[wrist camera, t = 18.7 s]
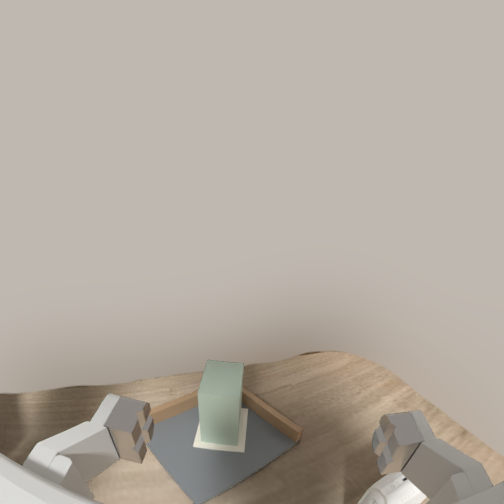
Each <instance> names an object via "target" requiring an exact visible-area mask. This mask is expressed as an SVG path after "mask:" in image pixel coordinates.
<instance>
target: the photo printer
mask: <svg viewBox="0 0 504 504" xmlns="http://www.w3.org/2000/svg"><path fill="white" fill-rule="evenodd" d="M426 497H427V496H426V495H425V494H423V493H422V492H421V491H420V490H419V489H418V488H417V487H416V486H415V485H414V484H412V483H411V482H410V481H409V480H408V479H407V478H406V477H405V476H404V475H403V474H402V473H401V472H396V473H390V474H387V475H385V476H384V477H383V478H381V479H380V480H379V481H377V482H376V483H374V484H373V485H372V486H371V487H370V488H369V489H368V490H367V491H366V492H365V494H364V495H363V497H362V498H361V499H360V501H359V502H358V503H357V504H420V503H421V502H422V501H423V500H424V499H425V498H426Z"/></svg>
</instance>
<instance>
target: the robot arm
mask: <svg viewBox="0 0 504 504" xmlns="http://www.w3.org/2000/svg"><path fill="white" fill-rule="evenodd" d="M150 411H151V408H150V404H149V403H147V402H143V401H139V400H135V399H131V398H127V397H123V396H119V395H115V394H112V393H110V394H108V395H107V396H106V397H105V399H104V400H103V402H102V403H101V405H100V407H99V408H98V410H97V411H96V413H95V415H94V416H93V418H92V419H91V421H90V422H88V421H85V422H83V423H81V424H79V425H77V426H75V427H72V428H70V429H68V430H66V431H64V432H61V433H59V434H57V435H55V436H52V437H50V438H48V439H45V440H43V441H41V442H38V443H37V444H36V446H35V447H34V448H33V450H32V451H31V453H30V454H29V456H28V457H27V459H26V460H25V462H24V463H23V465H22V466H21V465H20V464H18V463H16V462H15V461H13V460H11V459H10V458H8V457H6V456H5V455H3V454H2V453H0V504H103V503H100V502H98V501H95V500H93V498H94V494H93V492H92V491H91V490H90V488H89V487H88V485H87V484H86V483H87V482H88V481H90V480H91V479H93V478H94V477H96V476H97V475H99V474H100V473H101V472H103V471H104V470H106V469H107V468H109V467H110V466H111V465H113V464H114V463H116V462H117V461H118V460H120V458H121V459H124V460H128V461H132V462H137V463H141V464H142V462H143V460H144V457H145V454H146V452H147V448H146V445H145V444H147V443H149V442H150V441H151V439H152V436H153V431H154V421H153V418H152V417H151V416H150V415H149V414H150ZM379 423H380V425H381V426H380V427H378V428H377V429H376V430H375V432H374V434H373V439H372V447H373V451H374V453H375V454H376V455H378V456H379V458H378V460H377V464H378V468H379V471H380V475H383V474H390V473H396V472H401V473H402V474H403V475H404V476H405V477H406V478H407V479H408V480H409V481H410V482H411V483H412V484H414V485H415V486H416V487H417V488H418V489H419V490H420V491H421V492H422V493H423V494H425V495H426V496H427V497H428V498H429V499H430V500H429V501H428V502H427V503H426V504H504V481H503V482H501V483H499V484H497V485H495V486H493V484H492V482H491V480H490V478H489V476H488V475H487V473H486V471H485V469H484V467H483V465H482V464H481V463H480V462H478V461H476V460H475V459H473V458H471V457H469V456H468V455H466V454H464V453H463V452H461V451H459V450H458V449H456V448H454V447H453V446H451V445H449V444H448V443H446V442H445V441H443V440H441V439H440V438H439V439H436V437H435V435H434V433H433V431H432V429H431V427H430V425H429V423H428V422H427V420H426V418H425V416H424V414H423V412H422V411H421V410H416V411H410V412H402V413H394V414H386V415H383V416H382V417H381V419H380V421H379Z"/></svg>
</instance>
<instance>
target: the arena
mask: <svg viewBox="0 0 504 504" xmlns="http://www.w3.org/2000/svg"><path fill="white" fill-rule="evenodd" d="M149 415H150V416H151V417H152V418H153V421H154V431H153V436H152V439H151V441H150V442H149V443H147V444H146V445H147V446H148V448H149V449H150V450H151V452H152V453H153V455H154V456H155V457H156V459H157V460H158V461H159V462H160V464H161V465H162V466H163V468H164V469H165V470H166V471H167V473H168V474H169V475H170V476H171V477H172V479H173V480H174V481H175V482H176V483H177V485H178V486H179V487H180V488H181V489H182V490H183V492H184V493H185V494H186V495H187V496H188V497H189V498H190V500H191V501H192V502H193V503H194V504H204V503H205V502H207V501H209V500H211V499H213V498H215V497H216V496H218V495H220V494H222V493H223V492H225V491H227V490H228V489H230V488H232V487H234V486H235V485H237V484H238V483H240V482H242V481H243V480H245V479H246V478H248V477H250V476H251V475H253V474H254V473H256V472H257V471H259V470H260V469H262V468H263V467H265V466H266V465H268V464H269V463H271V462H272V461H273V460H275V459H276V458H278V457H279V456H280V455H282V454H283V453H285V452H286V451H287V450H289V449H290V448H291V447H293V446H294V445H295V444H297V443H298V442H299V441H300V438H301V434H302V430H303V429H302V428H301V427H299V426H298V425H296V424H295V423H293V422H292V421H290V420H289V419H287V418H286V417H285V416H283V415H282V414H280V413H279V412H277V411H276V410H275V409H273V408H272V407H270V406H269V405H268V404H266V403H265V402H263V401H262V400H261V399H259V398H258V397H257V396H255V395H254V394H253V393H251V392H250V391H249V390H247V389H246V388H245V387H242V403H241V417H240V426H239V435H238V444H237V446H231V445H222V444H213V443H205V442H201V434H200V421H199V407H198V390H197V391H194V392H192V393H190V394H187V395H185V396H182V397H180V398H178V399H175V400H173V401H170V402H168V403H165V404H162V405H160V406H157V407H155V408H152V409H151V411H150V414H149Z"/></svg>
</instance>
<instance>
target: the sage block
mask: <svg viewBox="0 0 504 504" xmlns="http://www.w3.org/2000/svg"><path fill="white" fill-rule="evenodd" d="M243 371H244V363H234V362H224V361H213V360H207V363H206V366H205V369H204V373H203V376H202V380H201V383H200V387H199V390H198V407H199V421H200V434H201V442H205V443H213V444H222V445H231V446H237V444H238V435H239V426H240V417H241V403H242V387H243Z"/></svg>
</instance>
